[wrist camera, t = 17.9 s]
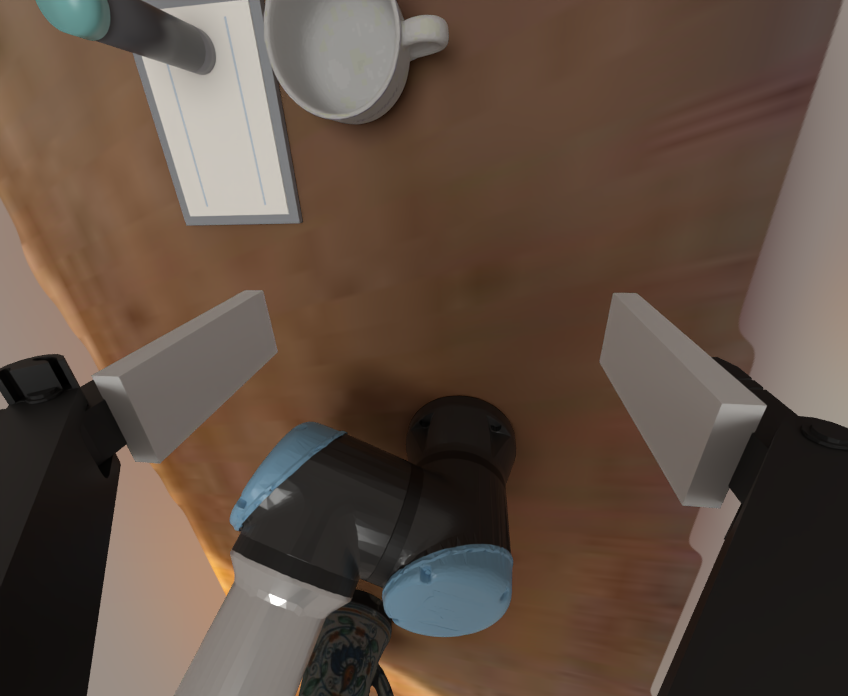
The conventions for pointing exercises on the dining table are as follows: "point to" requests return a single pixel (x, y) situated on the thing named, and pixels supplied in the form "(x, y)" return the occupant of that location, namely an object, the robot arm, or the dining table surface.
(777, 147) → the dining table surface
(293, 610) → the robot arm
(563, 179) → the dining table surface
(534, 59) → the dining table surface
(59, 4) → the marker
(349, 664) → the beer stein
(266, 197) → the small whiteboard
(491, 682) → the dining table surface
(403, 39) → the teacup
